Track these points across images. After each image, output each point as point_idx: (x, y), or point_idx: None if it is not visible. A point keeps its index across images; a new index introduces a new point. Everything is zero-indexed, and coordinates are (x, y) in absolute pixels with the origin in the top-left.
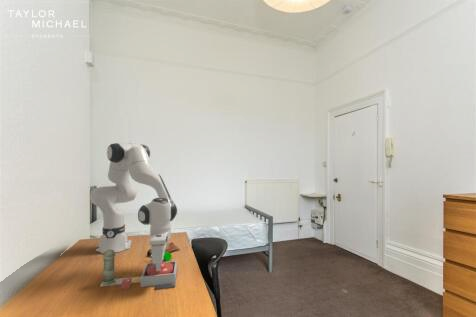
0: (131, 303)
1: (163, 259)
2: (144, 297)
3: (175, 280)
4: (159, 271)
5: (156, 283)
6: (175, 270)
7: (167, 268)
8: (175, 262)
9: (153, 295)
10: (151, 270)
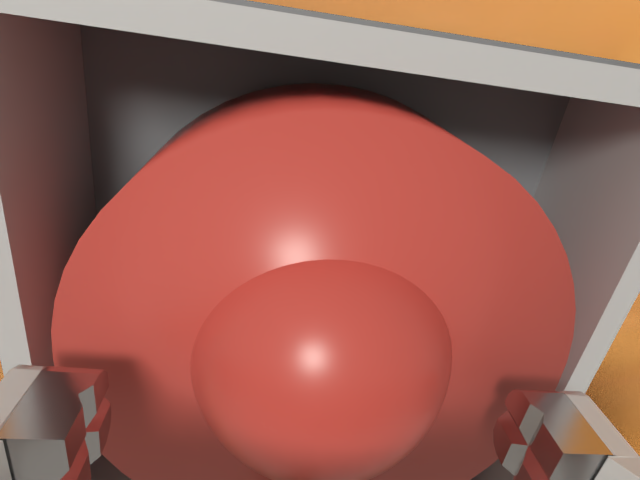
0: (635, 440)
1: (27, 375)
2: (612, 370)
3: (516, 47)
4: (507, 375)
5: None
6: (532, 52)
7: (451, 246)
8: (62, 14)
9: (633, 304)
10: (402, 478)
